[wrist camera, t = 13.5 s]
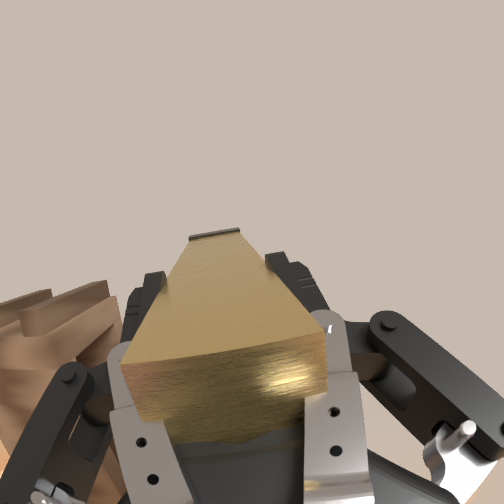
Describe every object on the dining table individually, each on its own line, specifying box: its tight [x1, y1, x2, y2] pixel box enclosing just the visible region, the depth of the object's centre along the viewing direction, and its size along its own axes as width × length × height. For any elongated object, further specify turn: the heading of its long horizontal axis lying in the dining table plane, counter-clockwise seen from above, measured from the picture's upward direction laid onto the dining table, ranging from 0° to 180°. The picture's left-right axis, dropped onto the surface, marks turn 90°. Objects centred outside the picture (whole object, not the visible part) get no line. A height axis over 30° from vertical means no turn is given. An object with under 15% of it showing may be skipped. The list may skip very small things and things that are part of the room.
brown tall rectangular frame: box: [0, 280, 127, 504], centre depth 20 cm, size 9×12×34 cm
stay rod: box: [119, 228, 328, 444], centre depth 16 cm, size 4×22×4 cm, turn 6°
